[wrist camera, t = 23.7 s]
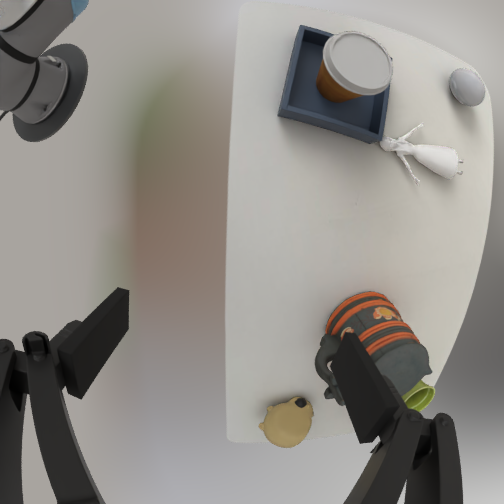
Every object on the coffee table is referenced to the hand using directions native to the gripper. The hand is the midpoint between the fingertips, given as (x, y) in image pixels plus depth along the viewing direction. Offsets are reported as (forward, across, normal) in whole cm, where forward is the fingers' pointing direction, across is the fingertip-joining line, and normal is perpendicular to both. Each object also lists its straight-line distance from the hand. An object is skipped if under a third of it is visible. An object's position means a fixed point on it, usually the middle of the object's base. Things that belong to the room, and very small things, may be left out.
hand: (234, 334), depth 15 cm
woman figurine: (+29, +27, +21) cm, 45 cm away
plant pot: (+29, +44, -26) cm, 59 cm away
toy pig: (+29, +17, -36) cm, 49 cm away
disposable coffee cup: (+28, +9, +27) cm, 40 cm away
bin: (+29, +9, +27) cm, 40 cm away
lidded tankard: (+29, +23, -13) cm, 39 cm away
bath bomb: (+29, +35, +39) cm, 60 cm away
